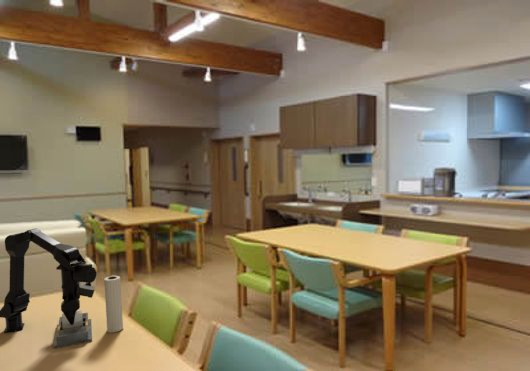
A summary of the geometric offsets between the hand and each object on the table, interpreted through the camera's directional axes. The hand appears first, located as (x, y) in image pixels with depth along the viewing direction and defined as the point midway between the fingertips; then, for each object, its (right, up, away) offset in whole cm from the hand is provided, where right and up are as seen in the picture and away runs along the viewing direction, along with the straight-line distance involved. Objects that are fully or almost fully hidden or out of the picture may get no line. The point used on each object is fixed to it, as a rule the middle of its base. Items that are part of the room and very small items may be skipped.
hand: (72, 320), depth 158 cm
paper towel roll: (+15, -6, +6) cm, 17 cm away
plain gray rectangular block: (0, -5, 0) cm, 5 cm away
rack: (-1, -6, +3) cm, 7 cm away
